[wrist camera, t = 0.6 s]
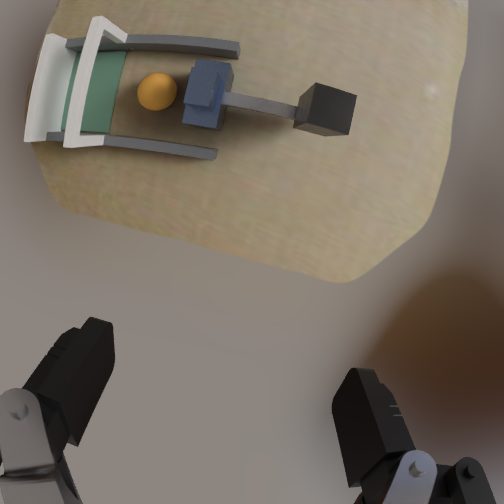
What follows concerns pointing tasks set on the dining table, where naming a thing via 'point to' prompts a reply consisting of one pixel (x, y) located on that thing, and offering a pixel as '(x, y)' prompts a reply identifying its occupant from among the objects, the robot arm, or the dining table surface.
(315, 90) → the striker
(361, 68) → the dining table surface
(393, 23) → the dining table surface
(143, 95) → the ball
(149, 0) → the dining table surface
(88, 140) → the pitch
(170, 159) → the dining table surface
